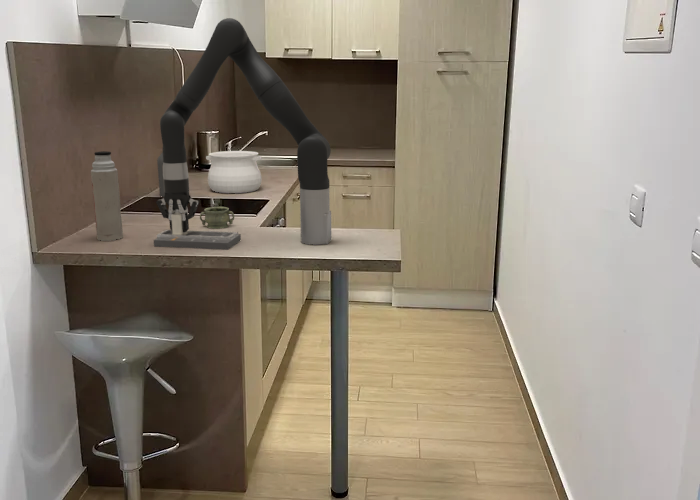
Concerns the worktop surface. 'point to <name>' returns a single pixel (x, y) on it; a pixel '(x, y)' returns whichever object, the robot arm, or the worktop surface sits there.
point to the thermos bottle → (106, 197)
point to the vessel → (217, 217)
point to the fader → (177, 224)
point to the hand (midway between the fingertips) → (179, 231)
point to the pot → (234, 171)
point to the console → (198, 239)
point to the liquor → (161, 175)
